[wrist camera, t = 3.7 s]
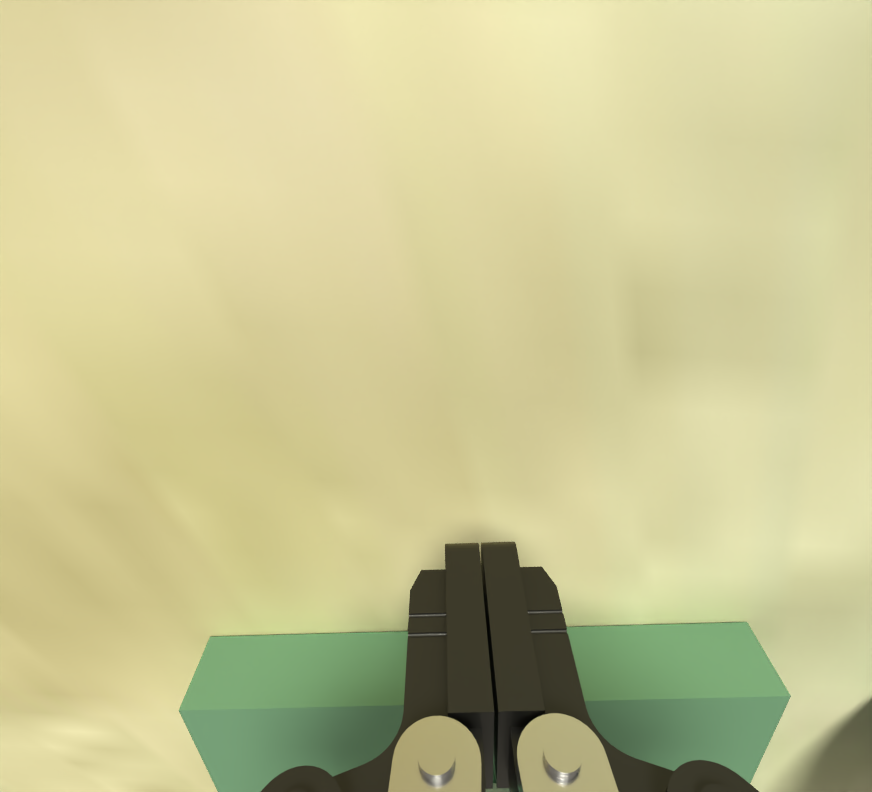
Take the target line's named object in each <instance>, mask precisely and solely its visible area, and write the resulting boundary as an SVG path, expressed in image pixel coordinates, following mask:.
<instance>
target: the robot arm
mask: <svg viewBox="0 0 872 792" xmlns="http://www.w3.org/2000/svg"><path fill="white" fill-rule="evenodd" d="M445 564H446V570H421V572H420V574H419V575H418V577H417V579H416V581H415V583H414V585H413V586H412V588H411V590H410V604H409V622H408V640H407V658H406V675H405V693H404V711H403V718H402V722H401V726H400V728H399V730H398V733H397V735H396V736H395V738H394V740H393V741H392V743H391V744H390V745H389V746H388V747H387V749H386V750H385V751H383V752H382V753H381V754H380V755H379V756H377V757H376V758H374V759H373V760H371V761H369V762H367V763H365V764H363V765H360V766H358V767H355V768H353V769H350V770H348V771H345V772H343V773H340V774H338V775H335V776H333V777H332V775H330V774H329V773H328V772H327V771H325V770H323V769H321V768H319V767H315V766H306V765H304V766H297V767H294V768H291V769H288V770H286V771H284V772H282V773H281V774H279V775H278V776H276V777H275V778H274V779H273V780H271V781H270V782H269V783H268V784H267V785H266V786H265V787H264V788H263V790H262V791H261V792H486V789H493V753H494V764H495V776H496V787H497V788H509V790H510V792H759V791H758V790H756V789H755V788H754V787H753V786H752V785H751V784H749V783H748V782H747V781H746V780H745V779H743V778H742V777H741V776H740V775H738V774H737V773H736V772H734V771H732V770H731V769H729V768H727V767H725V766H723V765H721V764H718V763H715V762H711V761H706V760H693V761H689V762H686V763H684V764H682V765H680V766H679V767H678V768H677V769H676V770H675V771H672V770H669V769H666V768H663V767H660V766H657V765H654V764H651V763H648V762H645V761H642V760H639V759H636V758H634V757H631V756H629V755H627V754H625V753H623V752H621V751H620V750H618V749H617V748H615V747H614V746H612V745H611V744H610V743H609V742H608V741H607V740H606V739H605V738H604V737H603V736H602V735H601V734H600V733H599V732H598V730H597V729H596V727H595V726H594V724H593V723H592V721H591V719H590V717H589V715H588V712H587V708H586V705H585V701H584V697H583V693H582V689H581V685H580V680H579V676H578V672H577V668H576V664H575V660H574V656H573V652H572V648H571V644H570V640H569V635H568V634H567V627H566V623H565V619H564V615H563V614H562V607H561V603H560V599H559V594H558V590H557V586H556V585H555V584H554V582H553V581H552V580H551V578H550V577H549V576H548V574H547V573H546V572H545V570H544V569H543V568H542V567H520V565H519V559H518V554H517V548H516V544H515V542H490V543H481V563H480V552H479V544H478V543H462V544H445Z"/></svg>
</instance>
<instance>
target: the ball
mask: <svg viewBox="0 0 872 792" xmlns="http://www.w3.org/2000/svg"><path fill="white" fill-rule="evenodd" d="M486 792H510V790H509V788H497V787H496V783H493V789H486Z"/></svg>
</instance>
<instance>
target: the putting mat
mask: <svg viewBox="0 0 872 792" xmlns="http://www.w3.org/2000/svg"><path fill="white" fill-rule="evenodd" d="M567 634H568V635H569V640H570V644H571V648H572V652H573V656H574V660H575V664H576V668H577V672H578V676H579V680H580V685H581V689H582V693H583V697H584V701H585V705H586V708H587V712H588V715H589V717H590V719H591V721H592V723H593V724H594V726H595V727H596V729H597V730H598V732H599V733H600V734H601V735H602V736H603V737H604V738H605V739H606V740H607V741H608V742H609V743H610V744H611V745H612V746H614V747H615V748H617V749H618V750H620V751H621V752H623V753H625V754H627V755H629V756H631V757H634V758H636V759H639V760H642V761H645V762H648V763H651V764H654V765H657V766H660V767H663V768H666V769H669V770H672V771H675V770H676V769H677V768H678V767H679V766H680V765H682V764H684V763H686V762H689V761H693V760H706V761H711V762H715V763H718V764H721V765H723V766H725V767H727V768H729V769H731V770H732V771H734V772H736V773H737V774H738V775H740V776H741V777H742V778H743V779H745V780H746V781H747V782H748V783H749V784H750V783H751V780H752V778H753V776H754V774H755V772H756V770H757V768H758V765H759V763H760V761H761V759H762V757H763V755H764V753H765V750H766V748H767V746H768V744H769V742H770V740H771V738H772V735H773V733H774V731H775V729H776V727H777V725H778V723H779V720H780V718H781V716H782V714H783V712H784V710H785V708H786V705H787V703H788V701H789V699H790V697H791V696H790V694H789V692H788V691H787V689H786V687H785V685H784V684H783V682H782V680H781V679H780V677H779V675H778V674H777V672H776V670H775V669H774V667H773V665H772V664H771V662H770V660H769V658H768V657H767V655H766V653H765V652H764V650H763V648H762V647H761V645H760V643H759V642H758V640H757V638H756V636H755V635H754V633H753V631H752V630H751V628H750V626H749V625H748V623H747V622H733V623H696V624H659V625H622V626H585V627H567ZM407 640H408V631H401V632H364V633H327V634H290V635H253V636H217V637H210V638H209V641H208V643H207V645H206V648H205V650H204V652H203V655H202V657H201V660H200V662H199V664H198V667H197V669H196V671H195V674H194V676H193V678H192V681H191V683H190V685H189V688H188V690H187V692H186V695H185V697H184V699H183V702H182V704H181V707H180V709H179V712H180V714H181V716H182V718H183V720H184V722H185V724H186V726H187V729H188V731H189V733H190V735H191V737H192V739H193V741H194V743H195V745H196V747H197V749H198V751H199V753H200V755H201V758H202V760H203V762H204V764H205V766H206V768H207V770H208V772H209V774H210V776H211V778H212V780H213V782H214V784H215V787H216V789H217V791H218V792H261V791H262V790H263V788H264V787H265V786H266V785H267V784H268V783H269V782H270V781H271V780H273V779H274V778H275V777H276V776H278V775H279V774H281V773H282V772H284V771H286V770H288V769H291V768H294V767H297V766H304V765H306V766H315V767H319V768H321V769H323V770H325V771H327V772H328V773H329V774H330V775H332V777H333V776H335V775H338V774H340V773H343V772H345V771H348V770H350V769H353V768H355V767H358V766H360V765H363V764H365V763H367V762H369V761H371V760H373V759H374V758H376V757H377V756H379V755H380V754H381V753H382V752H383V751H385V750H386V749H387V747H388V746H389V745H390V744H391V743H392V741H393V740H394V738H395V736H396V735H397V733H398V730H399V728H400V726H401V722H402V718H403V711H404V693H405V675H406V658H407ZM493 783H496V776H495V764H494V753H493Z"/></svg>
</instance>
